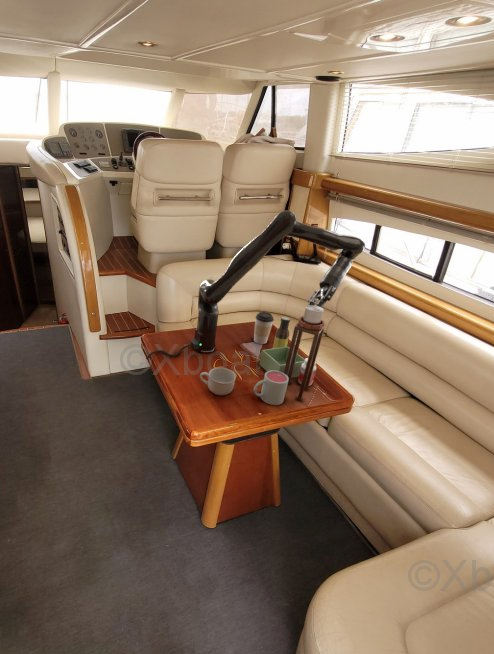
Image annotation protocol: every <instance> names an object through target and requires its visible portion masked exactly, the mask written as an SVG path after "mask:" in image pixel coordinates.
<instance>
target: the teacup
mask: <svg viewBox="0 0 494 654" xmlns="http://www.w3.org/2000/svg"><path fill="white" fill-rule="evenodd" d="M203 376H206V378H207V379H204V377H203ZM236 379H237V376H236V374H235V372H234V371H233V370H231V369H230V368H226V367H221V366H219V367H214V368H212V369H210V371H208V372H206V371H203V372H201V373H200V374H199V380H200V381H201V382H202V383H204V384H205V385H206V386H207V388H208V389H209V391H210V392H211V393H212V394H214V395H216V396H226V395H228V394H230V393H231V392H232V391H233V389H234V387H235V382H236Z"/></svg>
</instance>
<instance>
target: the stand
mask: <svg viewBox="0 0 494 654" xmlns="http://www.w3.org/2000/svg"><path fill="white" fill-rule="evenodd" d="M303 317H304V315H302V316H299V318H298V322H297V323H296V324H295V326H294V328H293V332H292V336H291V341H290V344H289V348H290V349H289V353H288V357H287V362H286V366H285V370H284V374H286V375H287V376H288V378H289V380H288V384H287V385H290V384H291V381H292V378H291V377H292V373H293V369H294V365H295V361H296V357H297V354H298V353H299V350H300V345H301V342H302V337H303V333H306V334H309V335H312V336H313V338H312V343H311V347H310V349H309V353H308V357H307V358H308V361H307V365H306V368H305V372H304V376H303V380H302V383H301V384H300V388H299V390H298V391H299V392H298V395H297V398H296V400H297V401H302V400H303V395H304V392H305V391H306V392H307V391H308V389H309V387H310V386H309V382H310V378H311V375H312V371H313V368H314V364H315V361H316V362H317V357H318V353H319V349H320V346H321V342H322V339H323V335H324V333H325V332H324V331H325V328H326V325H327V324H326V323H325V322H324V320H322V319H321V322H320V325H310V324H306V323H304V322H303ZM293 351H294V352H293ZM292 355H293V357H292ZM291 359H292V361H291ZM290 363H291V365H290ZM289 368H290V369H289ZM288 372H289V373H288Z"/></svg>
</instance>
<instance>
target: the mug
mask: <svg viewBox="0 0 494 654" xmlns="http://www.w3.org/2000/svg"><path fill="white" fill-rule="evenodd" d="M288 380H289V378H288V376H287V375H286V374H284V373H282V372H280V371H268V372H267V371H266V372H265V373H264V376H263V379H261V380H260V381H258V382H257V383H256V384H255V385H254V386H253V394H254V396H256V397H259V398H260V399H261V400H262V401H263V402H264V403H266V404H267V405H271V406H272V405H273V406H278V405H279V406H280V405H281V404H283V403H284V399H285V397H286V392H287V389H288V388H287V387H288V385H289V384H288ZM260 385H262V386H261V391H260V393H259V392H258V388H259V386H260Z"/></svg>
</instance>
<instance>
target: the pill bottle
mask: <svg viewBox="0 0 494 654" xmlns="http://www.w3.org/2000/svg"><path fill="white" fill-rule="evenodd" d="M304 359H305V361H304V363H303V364H302V366H301V370H300V373H299V377H297V383H298V384H300V385H301V383H302V380H303V376H304V372H305V368H306V365H307V361H308V357H306V358H304ZM316 372H317V360H316V361H315V364H314V368H313V371H312V375H311V378H310V382H309V386H308V387H310V386H312V385H313V382H314V378H315V375H316Z"/></svg>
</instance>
